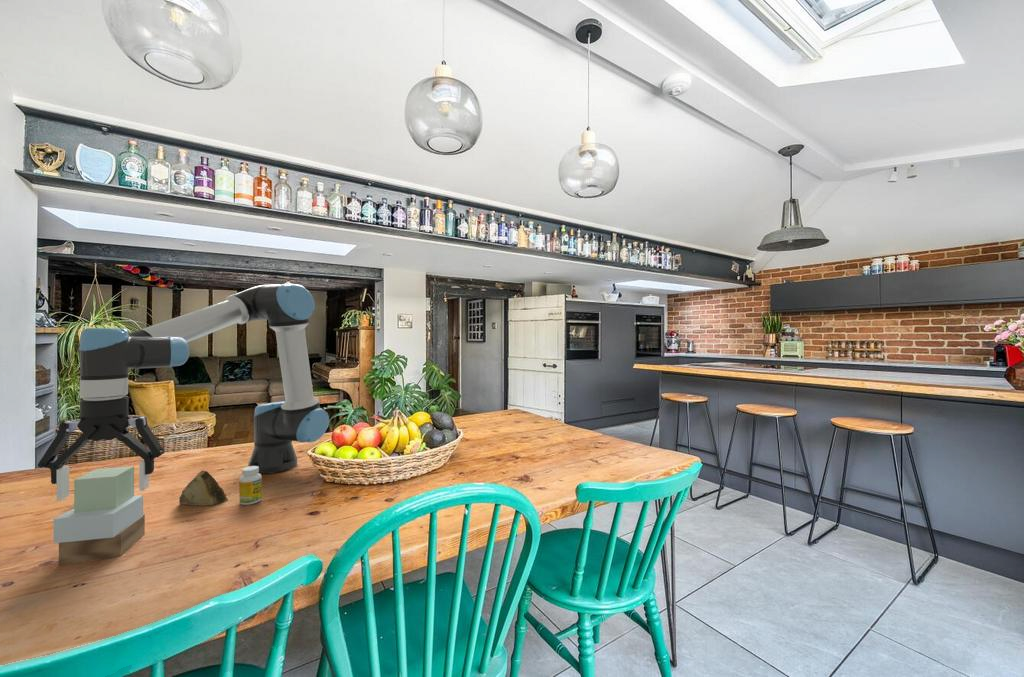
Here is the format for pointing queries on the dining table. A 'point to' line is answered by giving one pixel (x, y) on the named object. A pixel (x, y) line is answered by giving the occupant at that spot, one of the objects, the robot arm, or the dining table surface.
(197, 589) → the dining table surface
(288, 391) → the robot arm
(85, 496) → the green cube
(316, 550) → the dining table surface
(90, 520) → the tower top block
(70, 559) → the tower base block
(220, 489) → the rock
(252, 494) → the supplement bottle
